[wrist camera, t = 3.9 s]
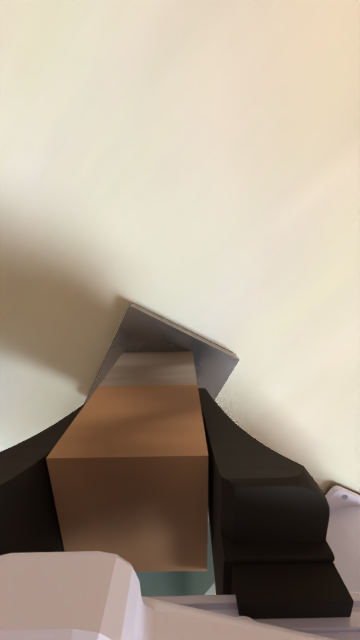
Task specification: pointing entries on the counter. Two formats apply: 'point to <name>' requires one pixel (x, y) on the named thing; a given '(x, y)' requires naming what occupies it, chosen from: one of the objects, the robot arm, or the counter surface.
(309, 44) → the counter surface
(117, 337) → the stud mount
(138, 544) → the brown rectangular block
